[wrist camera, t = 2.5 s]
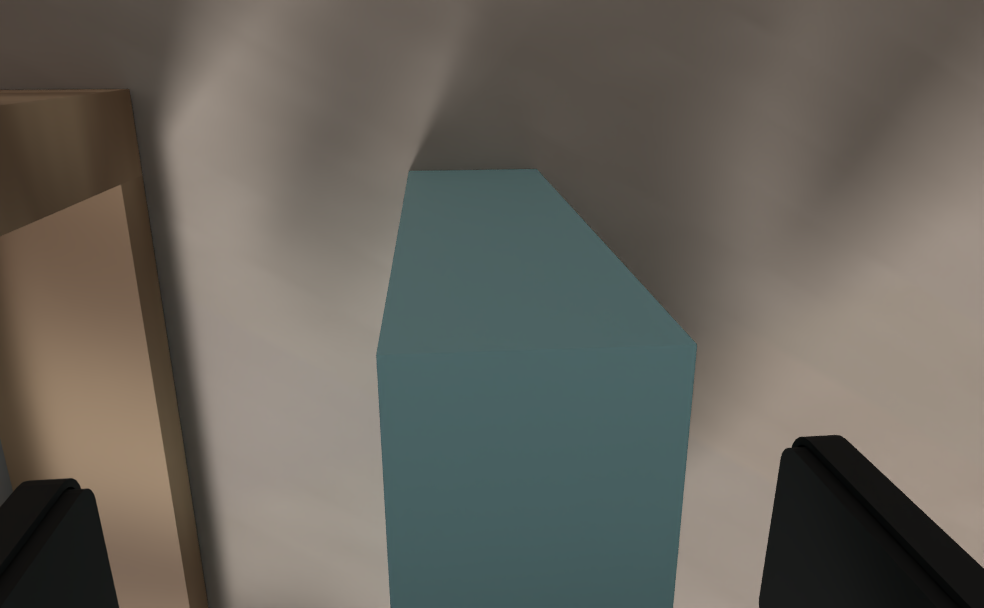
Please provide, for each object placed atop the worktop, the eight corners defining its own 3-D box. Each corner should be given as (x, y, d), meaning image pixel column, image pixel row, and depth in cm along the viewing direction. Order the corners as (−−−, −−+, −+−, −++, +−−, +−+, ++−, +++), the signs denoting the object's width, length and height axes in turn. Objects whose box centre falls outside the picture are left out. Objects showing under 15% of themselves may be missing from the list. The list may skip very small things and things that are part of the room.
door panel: (529, 601, 17) (624, 1131, 9) (425, 607, 17) (422, 1153, 9) (536, 168, 14) (696, 343, 6) (408, 170, 14) (377, 354, 5)
